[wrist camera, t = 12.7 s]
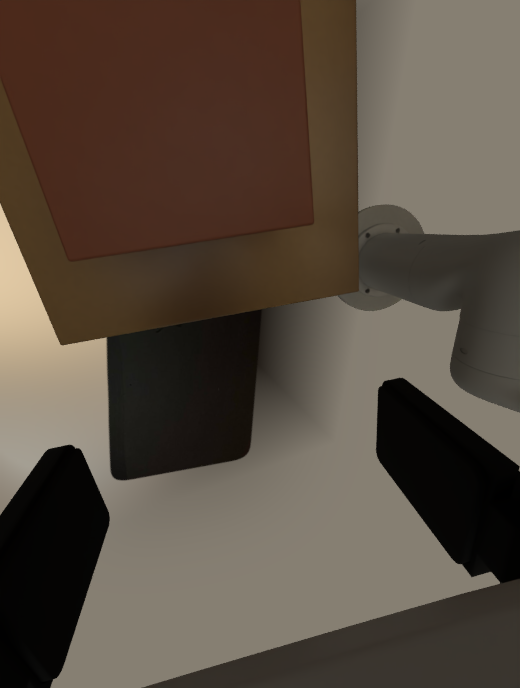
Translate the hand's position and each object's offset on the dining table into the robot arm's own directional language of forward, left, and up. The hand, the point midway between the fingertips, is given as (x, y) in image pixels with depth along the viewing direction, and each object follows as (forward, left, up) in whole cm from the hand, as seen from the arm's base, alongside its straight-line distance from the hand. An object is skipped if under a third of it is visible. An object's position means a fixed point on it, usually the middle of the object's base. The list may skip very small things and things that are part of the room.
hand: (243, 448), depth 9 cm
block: (0, -9, -2) cm, 9 cm away
